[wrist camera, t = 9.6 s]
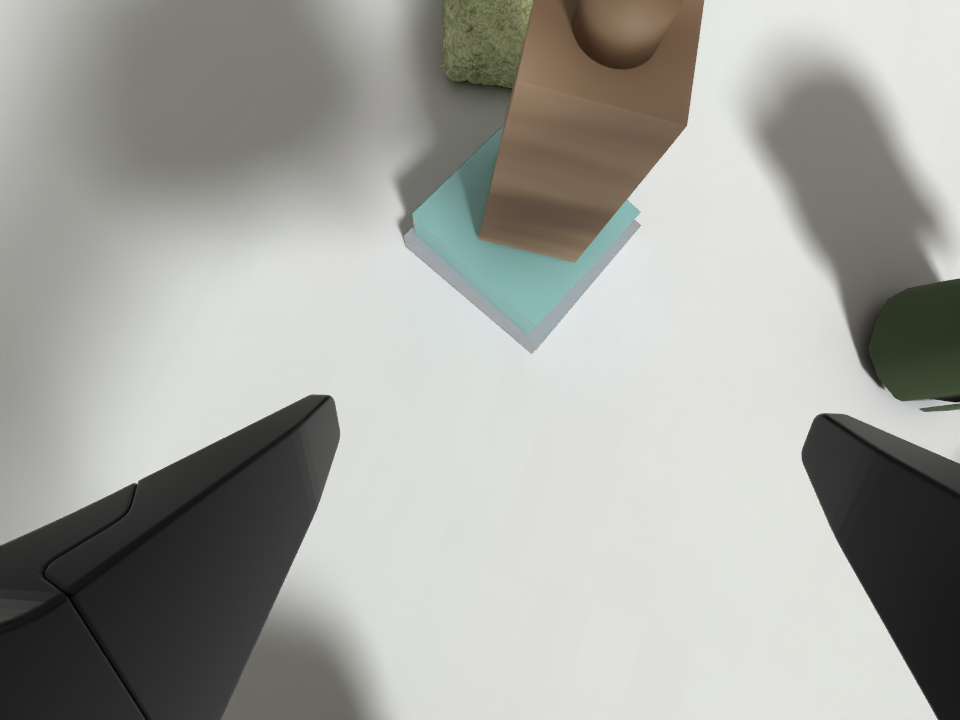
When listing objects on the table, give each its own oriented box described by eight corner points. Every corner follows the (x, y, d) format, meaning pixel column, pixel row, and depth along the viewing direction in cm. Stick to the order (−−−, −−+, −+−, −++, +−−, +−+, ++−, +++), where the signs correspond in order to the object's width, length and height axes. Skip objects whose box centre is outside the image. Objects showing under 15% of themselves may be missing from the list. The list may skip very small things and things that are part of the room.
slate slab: (528, 355, 23) (536, 349, 21) (406, 252, 24) (403, 236, 22) (625, 241, 25) (641, 225, 23) (508, 144, 25) (514, 120, 23)
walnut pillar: (575, 262, 20) (716, 89, 10) (478, 239, 20) (527, 37, 10) (590, 174, 21) (736, -67, 11) (497, 150, 20) (560, -118, 11)
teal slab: (527, 335, 22) (535, 326, 20) (414, 233, 22) (412, 213, 20) (623, 230, 23) (640, 211, 21) (515, 134, 23) (522, 107, 21)
